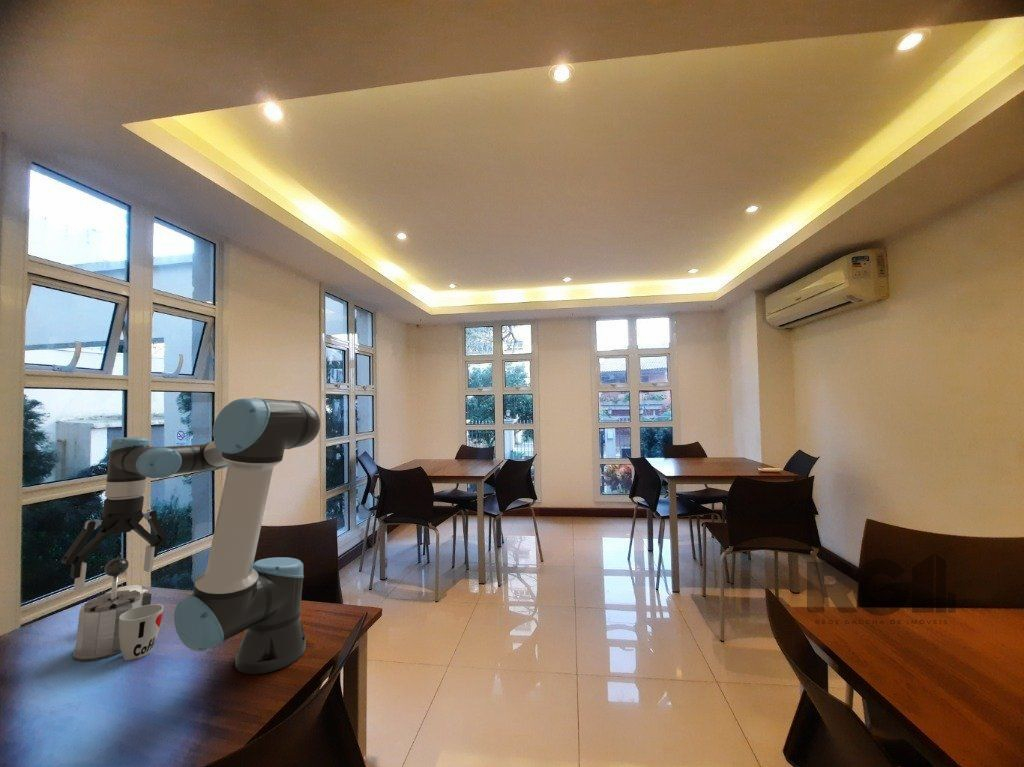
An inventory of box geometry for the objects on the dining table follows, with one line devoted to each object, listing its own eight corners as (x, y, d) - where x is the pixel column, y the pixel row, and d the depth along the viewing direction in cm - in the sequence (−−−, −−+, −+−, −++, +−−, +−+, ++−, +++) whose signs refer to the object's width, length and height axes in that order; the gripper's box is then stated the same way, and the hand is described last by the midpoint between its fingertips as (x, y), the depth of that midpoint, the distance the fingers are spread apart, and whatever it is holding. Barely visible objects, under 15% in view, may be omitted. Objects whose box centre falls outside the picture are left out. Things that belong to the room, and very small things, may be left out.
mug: (150, 618, 114) (154, 586, 115) (109, 633, 105) (113, 599, 106) (136, 612, 117) (139, 581, 117) (94, 627, 108) (98, 593, 109)
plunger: (139, 634, 102) (147, 555, 104) (94, 652, 94) (104, 566, 96) (121, 627, 106) (129, 550, 107) (76, 643, 98) (86, 560, 99)
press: (157, 637, 104) (162, 591, 105) (87, 666, 92) (93, 614, 93) (132, 626, 109) (137, 582, 110) (62, 653, 96) (68, 603, 97)
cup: (131, 666, 93) (136, 622, 93) (105, 660, 94) (110, 617, 95) (167, 646, 101) (171, 606, 101) (143, 642, 102) (147, 602, 103)
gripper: (172, 487, 116) (164, 561, 114) (48, 504, 93) (36, 596, 91) (187, 490, 113) (180, 566, 111) (63, 507, 90) (51, 603, 88)
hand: (115, 580), depth 101 cm, fingers open, 13 cm apart
